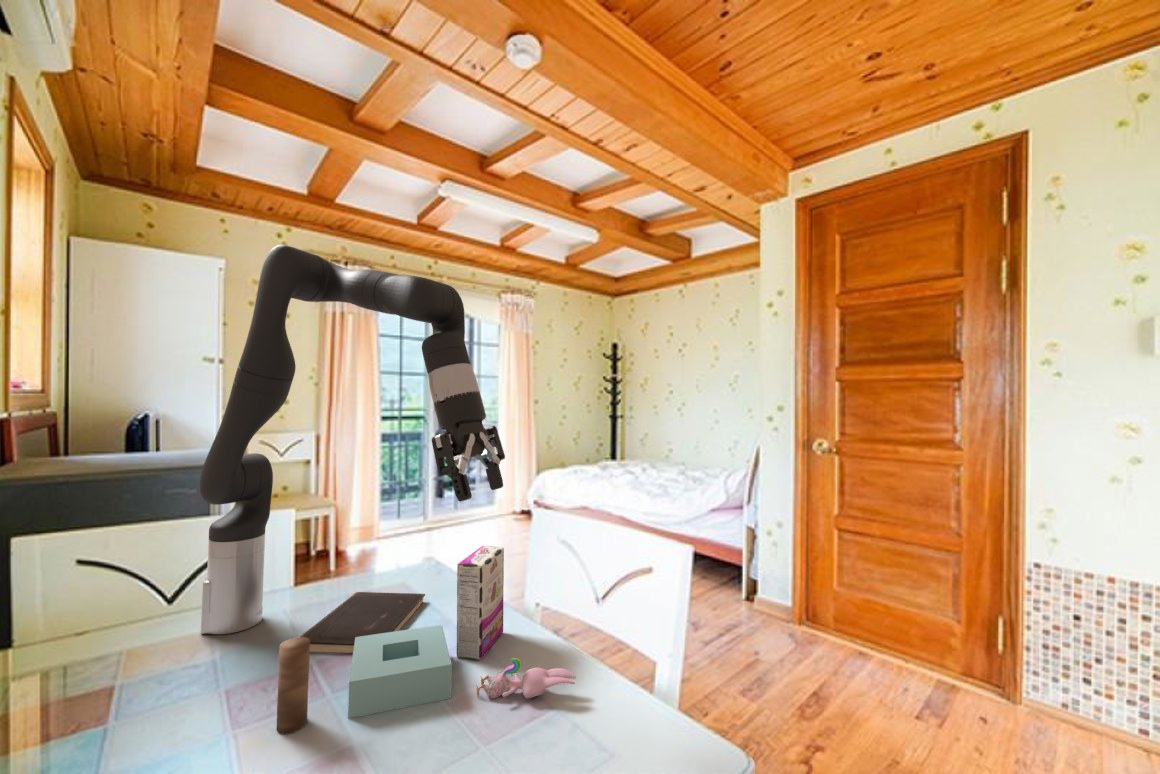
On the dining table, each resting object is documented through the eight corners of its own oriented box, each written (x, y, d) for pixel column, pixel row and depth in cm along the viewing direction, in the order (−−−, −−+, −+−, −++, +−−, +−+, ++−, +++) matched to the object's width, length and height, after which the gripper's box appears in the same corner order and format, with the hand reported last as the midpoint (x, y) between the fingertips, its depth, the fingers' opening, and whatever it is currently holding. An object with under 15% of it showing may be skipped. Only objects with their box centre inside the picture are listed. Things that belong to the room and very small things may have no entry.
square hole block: (347, 718, 69) (349, 681, 69) (354, 667, 82) (355, 637, 82) (450, 698, 74) (451, 664, 74) (441, 653, 87) (442, 624, 87)
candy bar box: (479, 629, 96) (481, 544, 97) (503, 632, 95) (505, 546, 96) (453, 658, 85) (456, 562, 86) (480, 661, 84) (483, 564, 85)
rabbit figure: (474, 714, 72) (575, 704, 71) (469, 673, 72) (569, 662, 71) (486, 690, 78) (578, 679, 77) (481, 652, 79) (573, 641, 78)
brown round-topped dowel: (273, 736, 65) (276, 651, 65) (279, 720, 68) (282, 639, 68) (304, 730, 66) (307, 647, 66) (308, 714, 69) (311, 635, 70)
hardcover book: (424, 604, 109) (425, 593, 109) (379, 657, 86) (380, 644, 86) (354, 602, 110) (354, 591, 110) (290, 654, 87) (290, 641, 87)
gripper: (466, 401, 88) (489, 490, 86) (407, 404, 75) (433, 509, 73) (499, 389, 85) (524, 480, 83) (444, 389, 72) (473, 498, 70)
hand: (482, 494), depth 78 cm, fingers open, 8 cm apart
